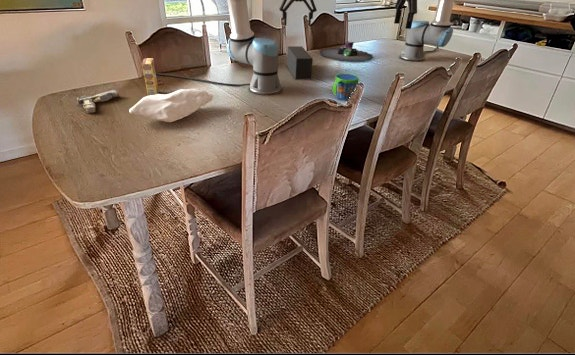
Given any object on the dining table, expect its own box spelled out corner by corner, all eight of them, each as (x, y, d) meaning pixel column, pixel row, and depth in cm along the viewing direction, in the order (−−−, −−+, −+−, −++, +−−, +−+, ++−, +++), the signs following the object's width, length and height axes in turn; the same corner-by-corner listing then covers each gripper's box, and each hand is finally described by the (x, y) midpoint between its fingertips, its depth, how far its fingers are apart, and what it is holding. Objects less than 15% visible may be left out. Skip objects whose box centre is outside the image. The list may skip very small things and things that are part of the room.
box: (286, 65, 216) (287, 46, 210) (301, 65, 217) (302, 46, 211) (295, 79, 194) (296, 58, 188) (311, 79, 195) (312, 58, 190)
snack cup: (349, 91, 180) (352, 71, 174) (364, 98, 172) (367, 77, 167) (324, 97, 172) (326, 75, 167) (338, 104, 165) (341, 82, 159)
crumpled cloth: (117, 110, 146) (113, 90, 140) (195, 92, 166) (194, 73, 160) (143, 139, 134) (140, 118, 128) (223, 116, 154) (224, 96, 148)
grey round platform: (383, 57, 237) (385, 42, 233) (344, 64, 220) (345, 48, 215) (347, 49, 262) (348, 36, 257) (309, 54, 245) (309, 40, 240)
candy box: (157, 97, 164) (152, 63, 155) (147, 98, 163) (141, 63, 155) (158, 91, 171) (153, 57, 163) (149, 91, 170) (143, 58, 162)
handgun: (128, 97, 156) (111, 87, 164) (86, 107, 144) (70, 97, 152) (129, 103, 157) (113, 94, 165) (88, 114, 146) (72, 103, 154)
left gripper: (276, -19, 184) (276, 26, 195) (324, -17, 188) (320, 26, 200) (274, -20, 190) (273, 23, 202) (320, -19, 194) (317, 24, 206)
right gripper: (431, -19, 165) (420, 30, 176) (407, -24, 185) (398, 21, 197) (416, -20, 163) (406, 30, 175) (393, -24, 184) (385, 21, 195)
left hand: (297, 25), depth 201 cm, fingers open, 13 cm apart
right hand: (402, 26), depth 186 cm, fingers open, 13 cm apart
